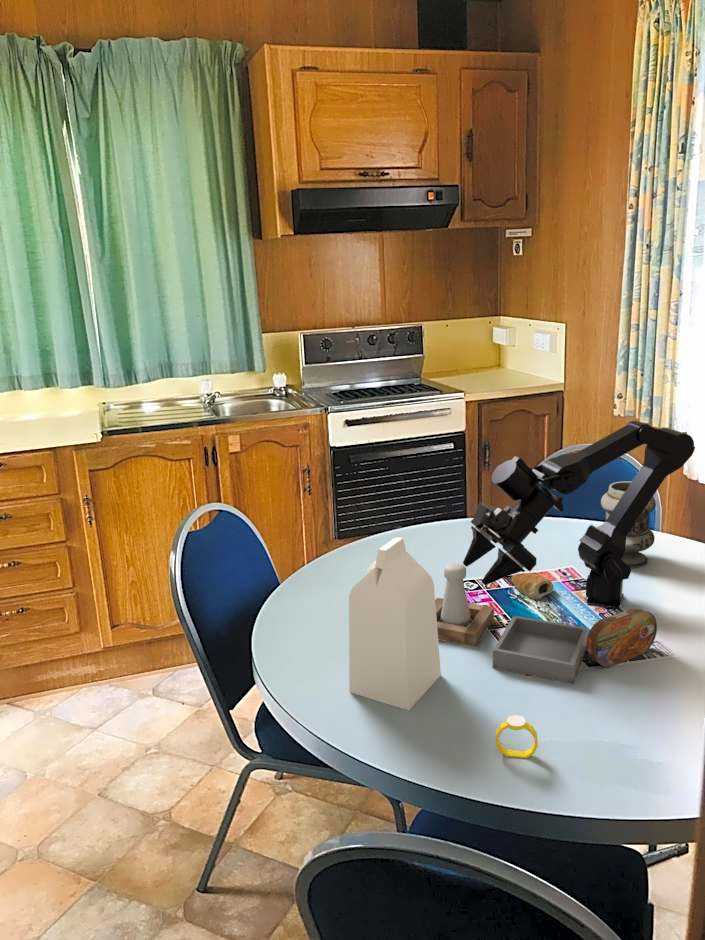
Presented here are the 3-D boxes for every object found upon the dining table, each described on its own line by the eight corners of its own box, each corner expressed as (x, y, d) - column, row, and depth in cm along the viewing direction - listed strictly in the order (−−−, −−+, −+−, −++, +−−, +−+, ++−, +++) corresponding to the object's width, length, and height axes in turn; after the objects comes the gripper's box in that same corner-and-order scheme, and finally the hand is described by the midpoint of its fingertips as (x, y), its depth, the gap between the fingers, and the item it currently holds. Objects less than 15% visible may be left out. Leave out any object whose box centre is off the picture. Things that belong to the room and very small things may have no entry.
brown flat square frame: (493, 618, 153) (494, 607, 153) (475, 646, 143) (475, 634, 142) (437, 608, 158) (437, 597, 158) (416, 635, 148) (415, 623, 148)
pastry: (503, 586, 168) (504, 570, 167) (527, 578, 171) (527, 562, 170) (533, 601, 160) (533, 585, 159) (557, 593, 163) (557, 577, 162)
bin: (587, 645, 142) (588, 628, 141) (573, 683, 130) (573, 665, 129) (513, 631, 148) (513, 615, 147) (492, 667, 136) (492, 650, 135)
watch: (496, 761, 112) (493, 725, 110) (497, 749, 114) (494, 714, 113) (538, 762, 111) (536, 726, 109) (538, 750, 113) (535, 715, 112)
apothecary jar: (607, 546, 186) (611, 475, 181) (659, 555, 179) (664, 482, 174) (590, 563, 177) (594, 489, 172) (644, 574, 170) (649, 497, 165)
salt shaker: (469, 634, 147) (469, 572, 144) (439, 633, 149) (438, 571, 145) (471, 620, 153) (470, 560, 149) (442, 619, 154) (441, 559, 150)
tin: (595, 673, 133) (597, 629, 130) (582, 664, 135) (584, 622, 133) (657, 649, 139) (660, 607, 137) (643, 642, 142) (646, 600, 139)
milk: (409, 710, 125) (404, 563, 117) (349, 691, 131) (341, 550, 123) (441, 674, 134) (438, 536, 127) (384, 659, 140) (378, 526, 133)
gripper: (480, 475, 154) (429, 534, 154) (522, 503, 136) (465, 569, 137) (515, 508, 158) (465, 564, 158) (560, 539, 141) (504, 602, 141)
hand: (473, 574), depth 149 cm, fingers open, 9 cm apart
